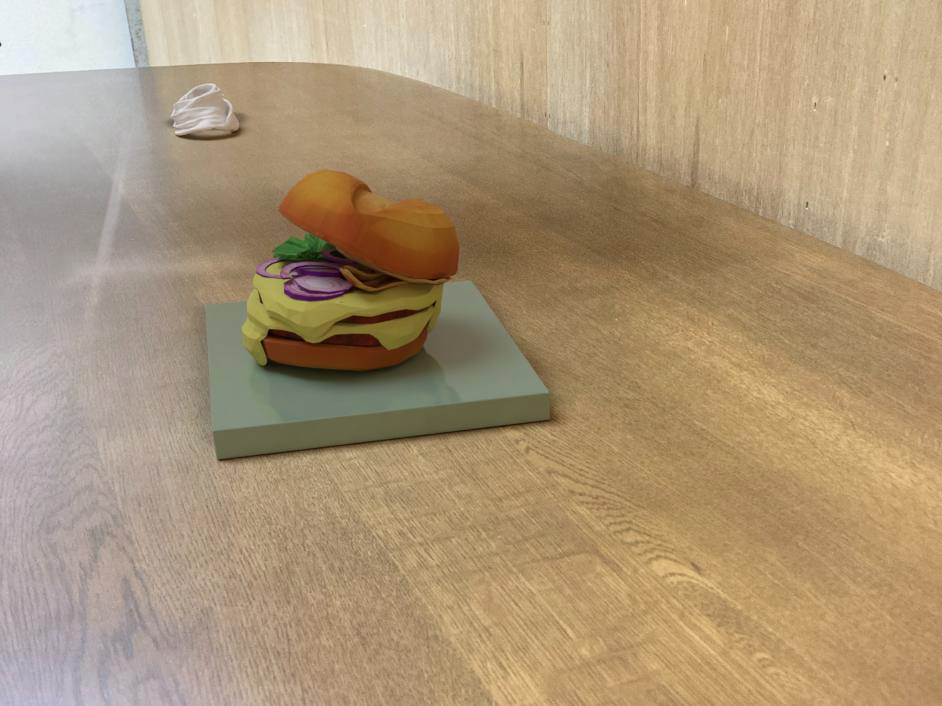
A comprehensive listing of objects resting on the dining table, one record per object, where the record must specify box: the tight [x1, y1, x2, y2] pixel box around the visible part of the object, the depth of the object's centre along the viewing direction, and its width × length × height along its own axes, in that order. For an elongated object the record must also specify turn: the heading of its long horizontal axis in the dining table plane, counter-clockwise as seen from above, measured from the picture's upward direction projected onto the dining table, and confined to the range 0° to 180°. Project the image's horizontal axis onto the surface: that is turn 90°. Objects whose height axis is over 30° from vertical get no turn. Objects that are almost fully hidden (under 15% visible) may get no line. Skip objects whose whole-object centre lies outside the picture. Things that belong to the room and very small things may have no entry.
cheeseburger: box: [241, 168, 460, 371], centre depth 59 cm, size 10×11×10 cm
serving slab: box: [204, 280, 551, 460], centre depth 62 cm, size 18×16×2 cm
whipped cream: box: [170, 83, 240, 136], centre depth 116 cm, size 8×7×5 cm
